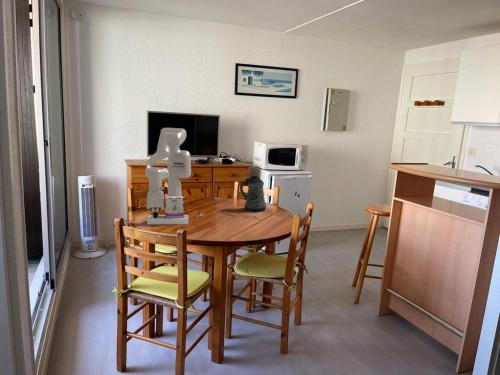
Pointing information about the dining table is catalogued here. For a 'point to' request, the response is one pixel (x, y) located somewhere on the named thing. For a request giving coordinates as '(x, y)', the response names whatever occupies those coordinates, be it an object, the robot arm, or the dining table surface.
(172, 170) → the robot arm
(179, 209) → the candy bar box
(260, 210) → the beer stein
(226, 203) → the dining table surface
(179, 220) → the acrylic channel
